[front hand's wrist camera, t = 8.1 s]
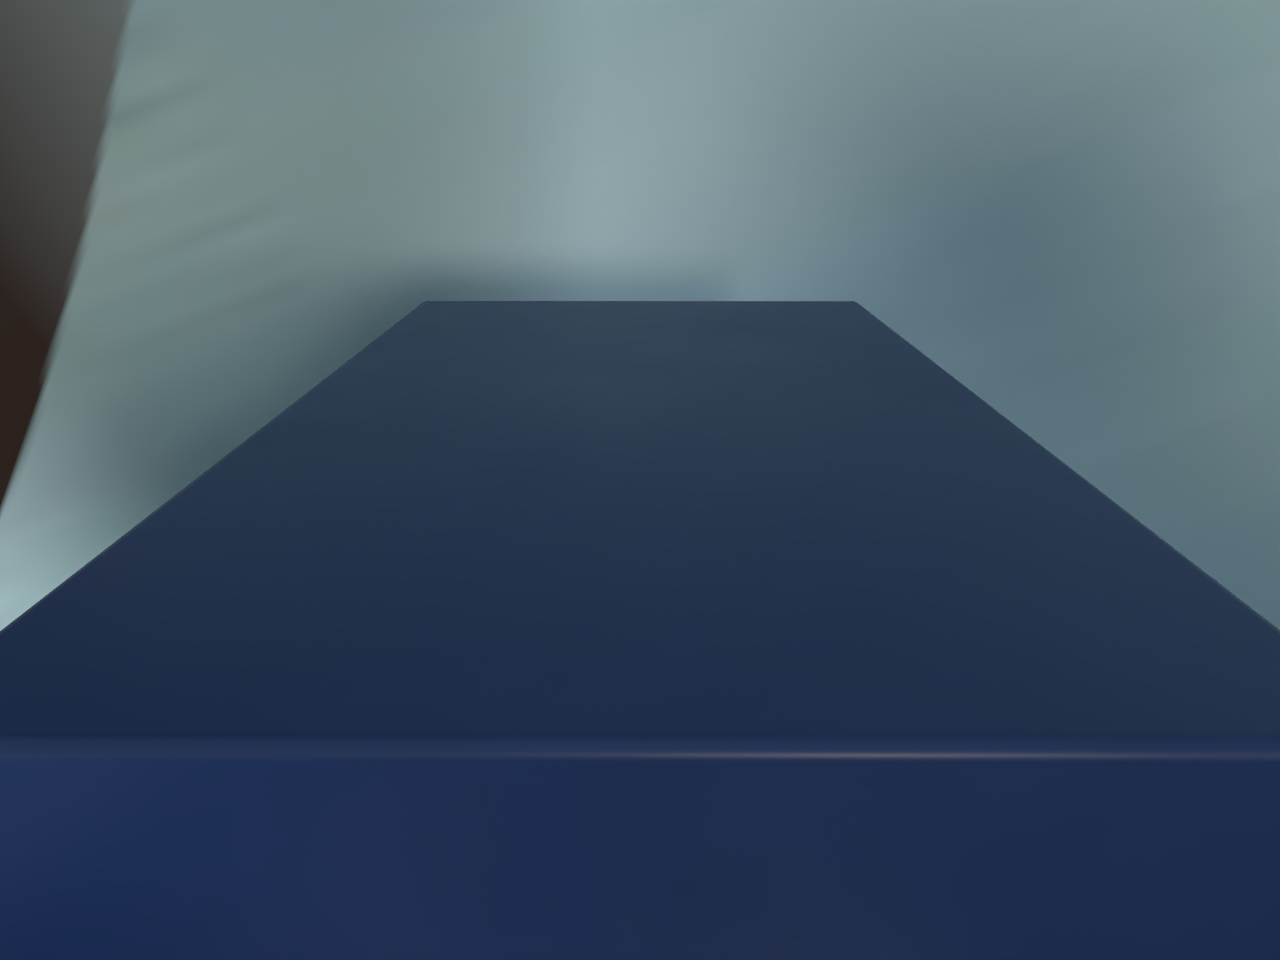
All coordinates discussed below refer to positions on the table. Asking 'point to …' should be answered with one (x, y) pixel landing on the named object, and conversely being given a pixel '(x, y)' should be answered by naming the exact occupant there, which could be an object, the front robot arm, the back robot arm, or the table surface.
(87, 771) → the box
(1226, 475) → the table surface
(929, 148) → the table surface
